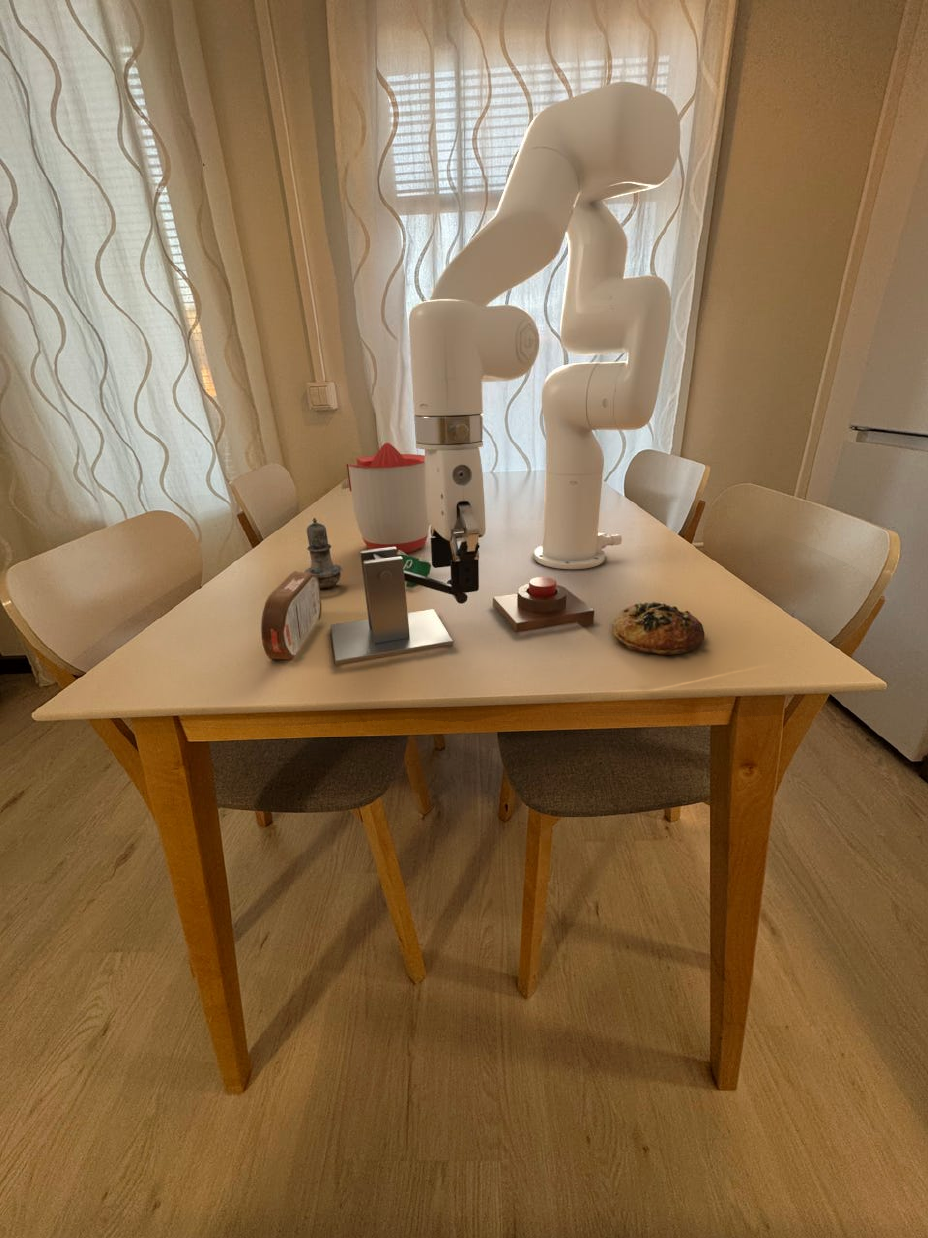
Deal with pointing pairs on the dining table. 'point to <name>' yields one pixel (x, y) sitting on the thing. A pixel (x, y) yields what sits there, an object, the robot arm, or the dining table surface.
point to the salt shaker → (321, 557)
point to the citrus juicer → (390, 499)
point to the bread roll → (658, 629)
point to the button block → (542, 609)
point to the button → (542, 587)
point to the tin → (290, 615)
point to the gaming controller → (415, 565)
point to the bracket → (386, 616)
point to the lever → (430, 583)
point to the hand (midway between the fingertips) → (453, 578)
